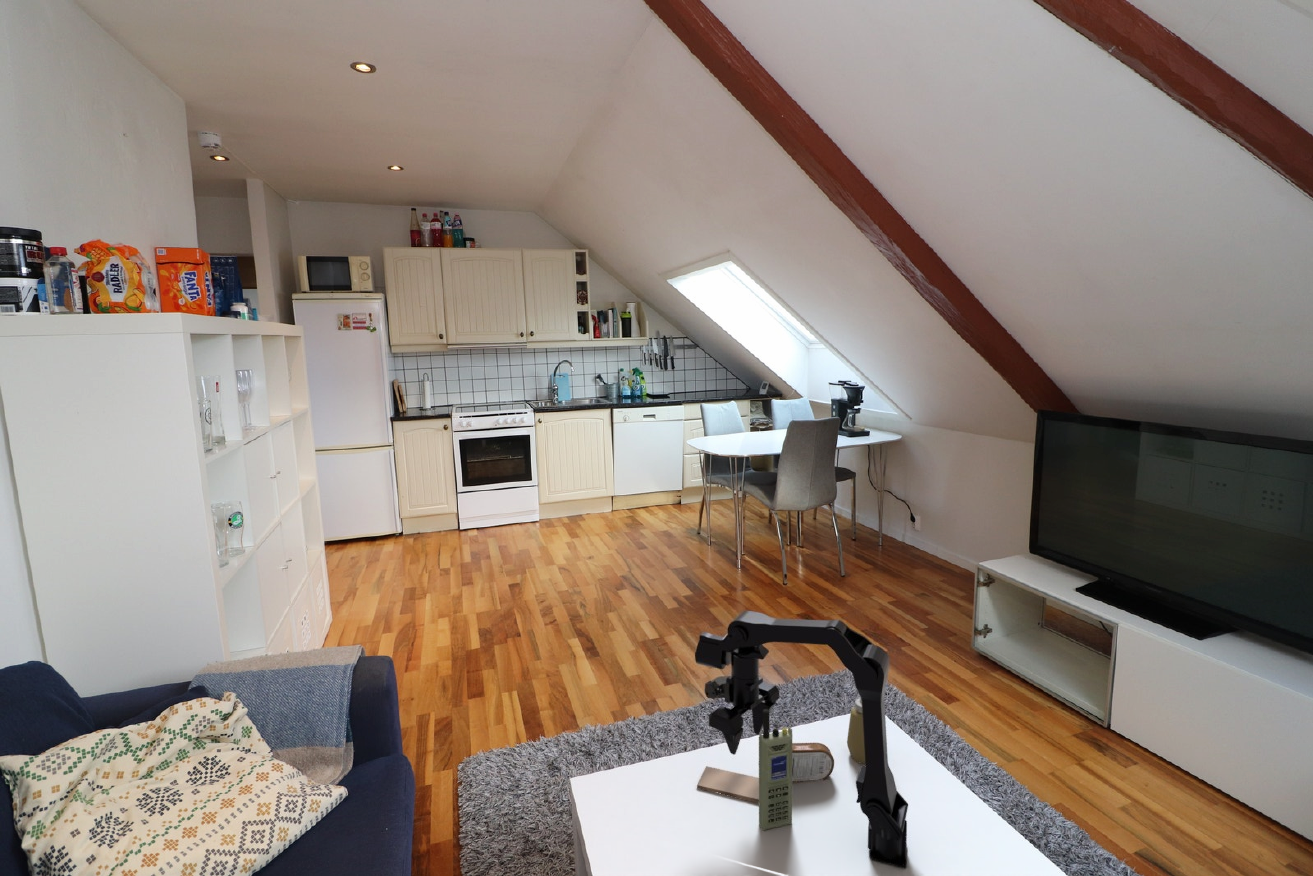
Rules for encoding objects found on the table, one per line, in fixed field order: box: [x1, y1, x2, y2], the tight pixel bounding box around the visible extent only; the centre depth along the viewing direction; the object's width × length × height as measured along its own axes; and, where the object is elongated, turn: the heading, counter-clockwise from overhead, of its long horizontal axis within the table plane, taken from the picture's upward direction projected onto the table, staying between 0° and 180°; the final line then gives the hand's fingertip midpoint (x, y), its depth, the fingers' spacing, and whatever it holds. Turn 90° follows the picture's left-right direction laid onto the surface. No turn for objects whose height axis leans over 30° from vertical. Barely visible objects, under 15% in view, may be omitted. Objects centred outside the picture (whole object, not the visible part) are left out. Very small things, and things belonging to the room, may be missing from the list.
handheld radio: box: [758, 709, 793, 831], centre depth 128 cm, size 7×3×25 cm, turn 105°
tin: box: [792, 742, 835, 784], centre depth 141 cm, size 15×3×8 cm, turn 96°
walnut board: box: [696, 765, 759, 804], centre depth 140 cm, size 16×7×1 cm, turn 69°
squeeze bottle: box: [846, 697, 865, 765], centre depth 148 cm, size 8×8×18 cm
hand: (745, 743), depth 133 cm, fingers open, 9 cm apart
